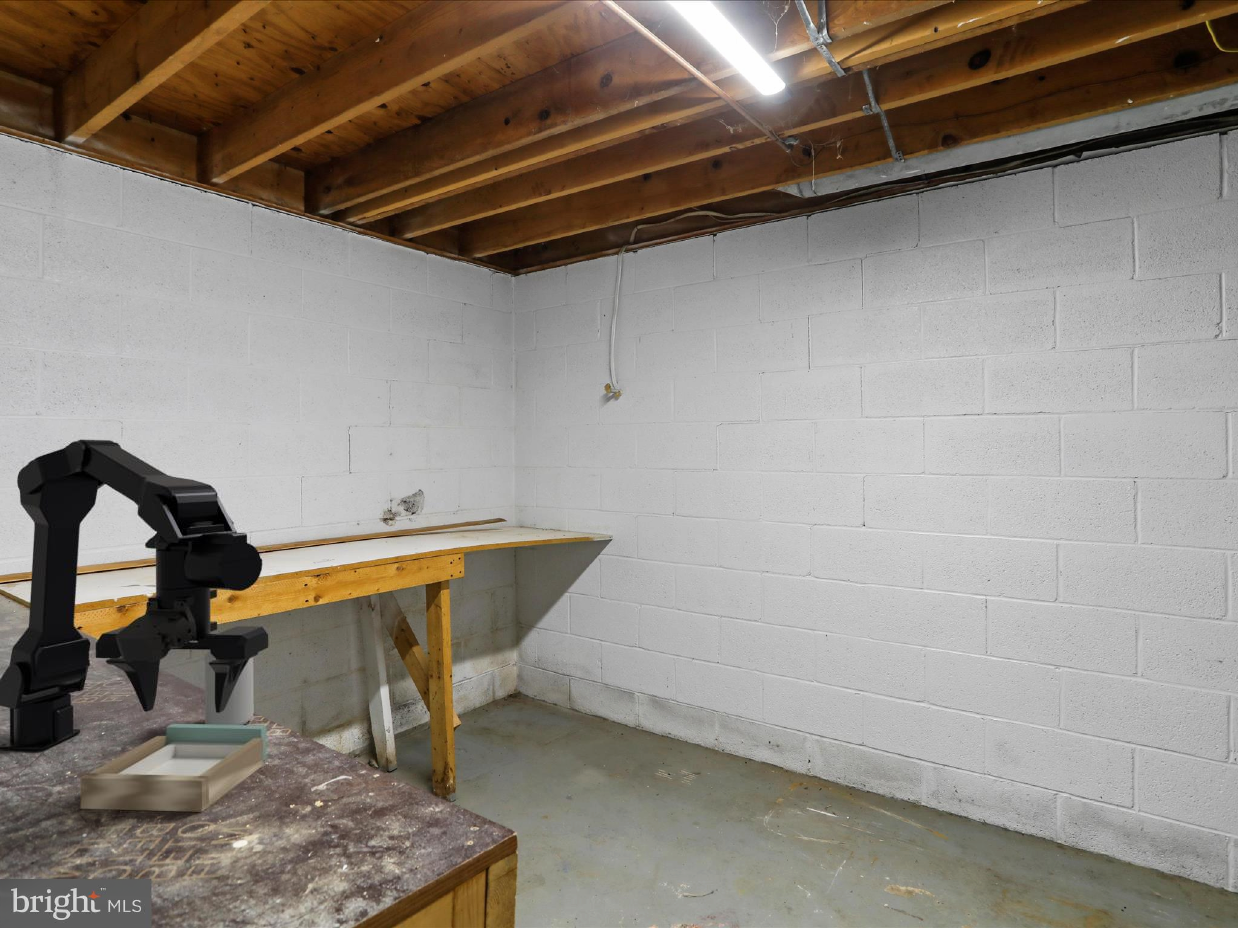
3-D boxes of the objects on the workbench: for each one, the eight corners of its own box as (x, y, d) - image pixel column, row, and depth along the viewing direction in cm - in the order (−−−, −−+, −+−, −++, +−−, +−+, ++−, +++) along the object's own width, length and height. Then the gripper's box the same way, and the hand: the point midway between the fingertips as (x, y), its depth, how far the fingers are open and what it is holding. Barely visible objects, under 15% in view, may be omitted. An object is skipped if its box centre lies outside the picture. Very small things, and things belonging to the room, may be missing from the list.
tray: (99, 800, 81) (99, 762, 81) (172, 756, 94) (172, 723, 94) (207, 803, 81) (206, 765, 81) (266, 758, 93) (266, 725, 93)
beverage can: (232, 733, 101) (231, 651, 101) (194, 730, 103) (194, 649, 103) (263, 717, 108) (262, 640, 108) (227, 714, 109) (226, 638, 109)
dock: (80, 808, 80) (80, 777, 80) (157, 762, 92) (157, 735, 92) (202, 811, 79) (202, 780, 79) (263, 764, 91) (263, 737, 91)
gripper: (55, 597, 79) (56, 735, 79) (214, 598, 78) (215, 738, 78) (130, 580, 90) (131, 701, 90) (270, 581, 89) (271, 703, 89)
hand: (184, 711), depth 86 cm, fingers open, 9 cm apart
